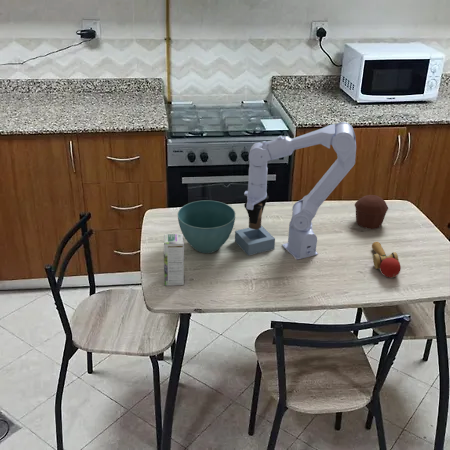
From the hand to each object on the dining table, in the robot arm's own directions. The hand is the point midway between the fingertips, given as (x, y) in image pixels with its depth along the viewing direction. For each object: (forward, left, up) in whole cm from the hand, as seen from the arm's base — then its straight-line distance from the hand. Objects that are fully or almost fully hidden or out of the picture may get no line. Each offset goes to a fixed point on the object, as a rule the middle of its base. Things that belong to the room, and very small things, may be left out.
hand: (255, 219), depth 185 cm
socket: (0, 0, -9) cm, 9 cm away
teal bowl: (+5, +15, -10) cm, 18 cm away
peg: (0, 0, -2) cm, 2 cm away
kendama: (-26, -31, -10) cm, 42 cm away
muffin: (-3, -44, -10) cm, 45 cm away
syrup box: (-8, +31, -10) cm, 34 cm away
